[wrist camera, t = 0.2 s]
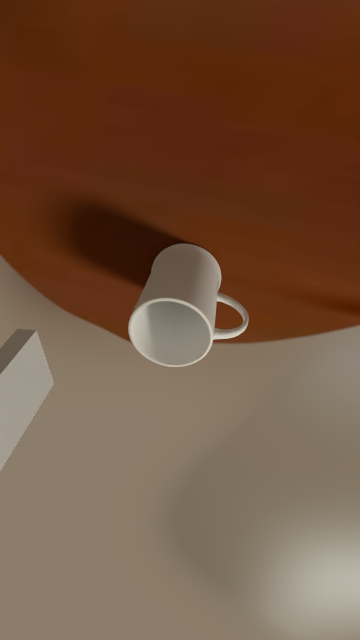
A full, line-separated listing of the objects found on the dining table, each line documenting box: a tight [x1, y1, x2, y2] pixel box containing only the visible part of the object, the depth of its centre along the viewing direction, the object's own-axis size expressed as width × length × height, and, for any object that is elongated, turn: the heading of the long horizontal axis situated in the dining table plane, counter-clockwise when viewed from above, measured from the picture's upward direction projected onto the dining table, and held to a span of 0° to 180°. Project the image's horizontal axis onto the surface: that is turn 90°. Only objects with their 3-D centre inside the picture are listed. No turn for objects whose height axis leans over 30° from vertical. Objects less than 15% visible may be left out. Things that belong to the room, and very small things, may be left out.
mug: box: [128, 243, 248, 367], centre depth 37 cm, size 12×8×12 cm
